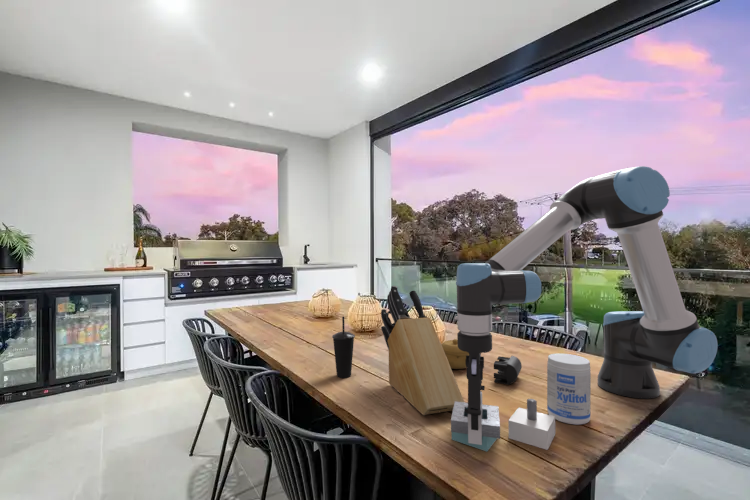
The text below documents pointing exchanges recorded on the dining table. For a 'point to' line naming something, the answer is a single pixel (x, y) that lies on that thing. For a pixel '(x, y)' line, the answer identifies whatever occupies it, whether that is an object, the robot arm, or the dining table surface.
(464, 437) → the teal peg base
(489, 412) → the square block with hole
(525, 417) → the stand
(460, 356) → the pot
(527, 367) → the dining table surface
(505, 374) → the end cap
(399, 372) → the knife block
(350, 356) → the drinking cup
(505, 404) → the dining table surface
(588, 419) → the supplement tub
